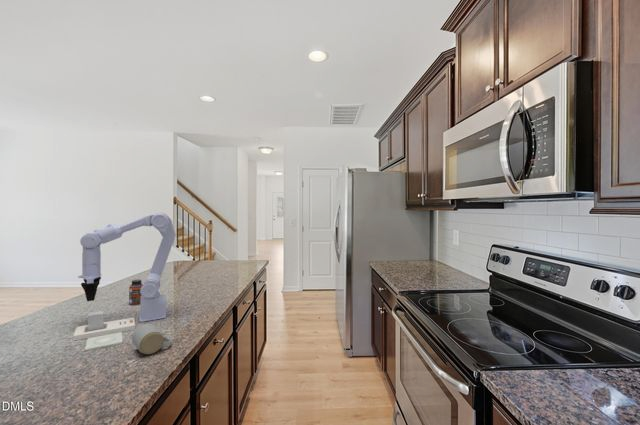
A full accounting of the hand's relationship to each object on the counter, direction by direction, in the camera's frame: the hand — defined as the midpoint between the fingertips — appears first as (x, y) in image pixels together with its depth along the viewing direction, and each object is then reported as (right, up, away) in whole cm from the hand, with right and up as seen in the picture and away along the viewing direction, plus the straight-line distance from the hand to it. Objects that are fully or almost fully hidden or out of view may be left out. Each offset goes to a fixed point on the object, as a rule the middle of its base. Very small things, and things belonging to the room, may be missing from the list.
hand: (91, 298), depth 118 cm
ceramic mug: (+36, -11, -20) cm, 42 cm away
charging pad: (+16, -11, -15) cm, 25 cm away
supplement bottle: (+1, -11, +27) cm, 29 cm away
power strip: (+10, -10, -5) cm, 15 cm away
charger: (+7, -11, -7) cm, 14 cm away
